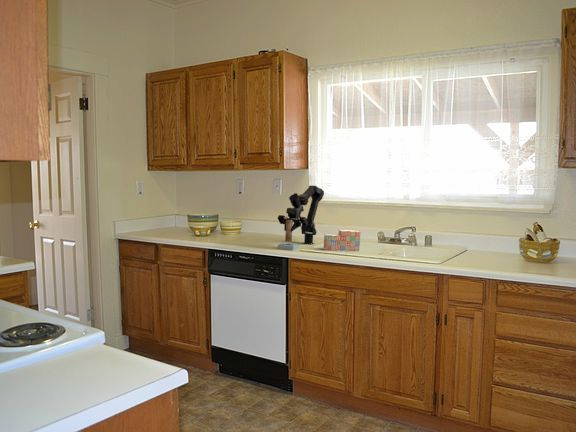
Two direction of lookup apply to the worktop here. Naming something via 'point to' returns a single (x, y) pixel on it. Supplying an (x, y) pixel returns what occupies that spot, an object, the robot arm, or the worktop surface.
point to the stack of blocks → (343, 241)
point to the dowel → (288, 231)
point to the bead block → (288, 246)
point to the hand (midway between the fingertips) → (287, 230)
